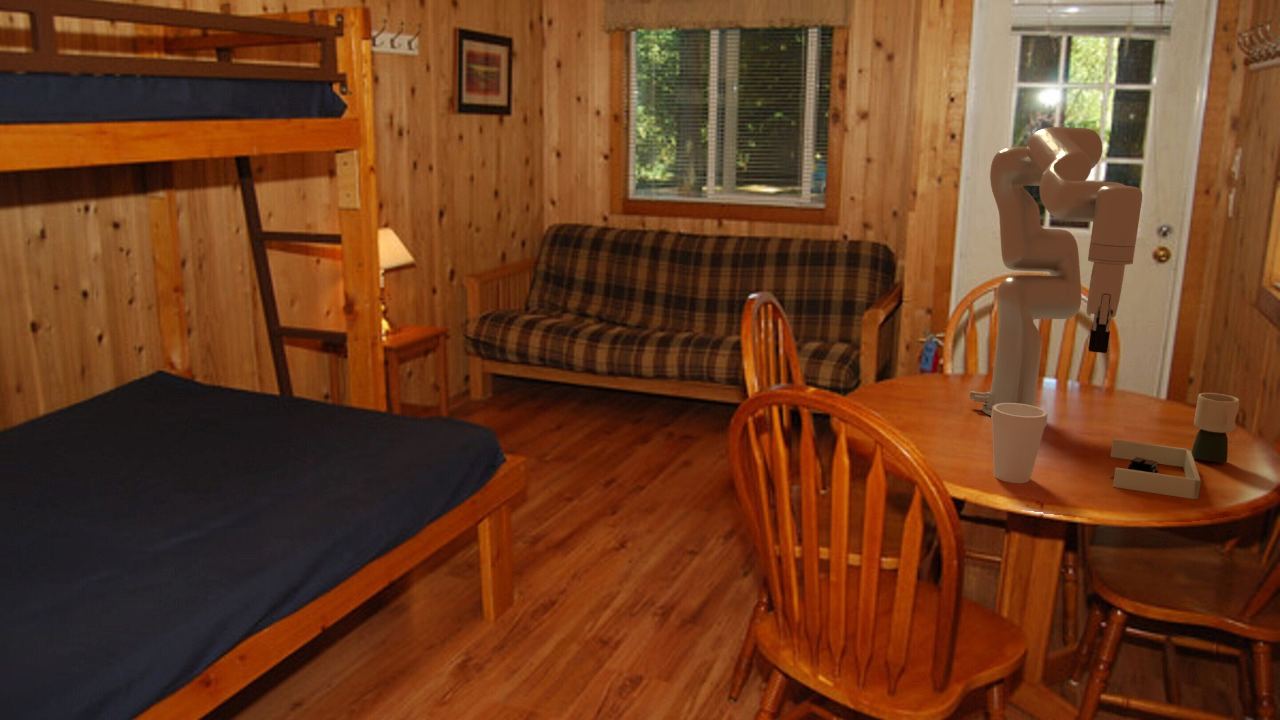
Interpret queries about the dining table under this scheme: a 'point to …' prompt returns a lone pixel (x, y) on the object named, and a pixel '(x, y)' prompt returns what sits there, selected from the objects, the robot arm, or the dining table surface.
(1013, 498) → the dining table surface
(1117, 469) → the corral
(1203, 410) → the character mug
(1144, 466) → the black piece
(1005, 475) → the foam cup
